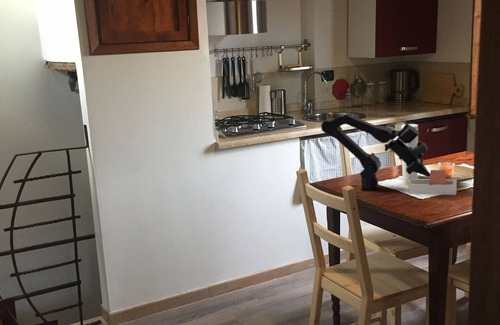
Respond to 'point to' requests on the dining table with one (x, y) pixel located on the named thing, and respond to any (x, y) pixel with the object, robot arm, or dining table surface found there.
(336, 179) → the dining table surface
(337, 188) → the dining table surface
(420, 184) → the plug guide
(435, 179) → the plug
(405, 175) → the cylindrical container
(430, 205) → the dining table surface
